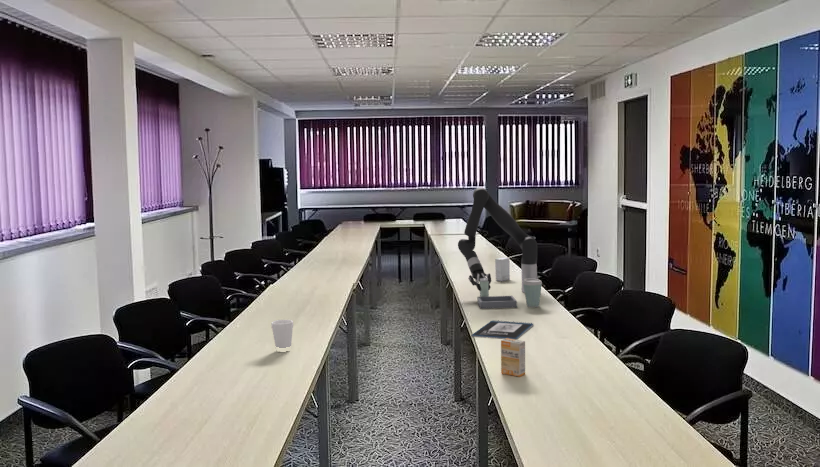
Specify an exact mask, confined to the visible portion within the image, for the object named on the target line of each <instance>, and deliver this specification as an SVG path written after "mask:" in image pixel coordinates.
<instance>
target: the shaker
mask: <svg viewBox="0 0 820 467" xmlns="http://www.w3.org/2000/svg"><path fill="white" fill-rule="evenodd" d="M479 284H480V287H481V291H479V297H485V296H490V292H489V291H490V290H489V284H488V278H487V277H486V278H480V281H479Z"/></svg>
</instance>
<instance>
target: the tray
mask: <svg viewBox="0 0 820 467" xmlns="http://www.w3.org/2000/svg"><path fill="white" fill-rule="evenodd" d="M476 298H477V300H476V301H477V304H478V306H479V308H480V310H481V309H502V308H503V309H504V308H505V309H506V308H507V309H509V308H518V302H517V300H516V299H515V298H516V297H515V296H513V295H494V296H492V295H491V296H490V295H489V296H485V297H480V296H477V297H476Z"/></svg>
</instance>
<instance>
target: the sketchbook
mask: <svg viewBox="0 0 820 467" xmlns="http://www.w3.org/2000/svg"><path fill="white" fill-rule="evenodd" d="M533 327H534V323H533V322H526V321H525V322H524V321H514V320H511V321H509V320H499V319H498V320H497V319H495V320H494V319H492V320H490V321H489V322H488V323H486V324H485V325H483V326H482V327H481V328H480V329H478V330H476V331H475V332H473V333H472V334H471V336H470V337H473V338H486V337H488V339H489V338H490V339H500V340H503V339H506V338H509V339H514V340H519V339H520V337H522V336H523V335H524V334H525V333H527V332H528V331H529V330H530V329H532V328H533Z"/></svg>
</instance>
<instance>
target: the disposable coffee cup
mask: <svg viewBox="0 0 820 467" xmlns="http://www.w3.org/2000/svg"><path fill="white" fill-rule="evenodd" d="M523 285H524V291H525V292H524V296H525V297H524V298H525V301H526V306H527V307H528V308H538V307H539V306H540V302H541V301H540V300H541V293H542V285H543V282H542V280H540V279H539V278H538V279H532V278H526V279H524V281H523Z"/></svg>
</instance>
